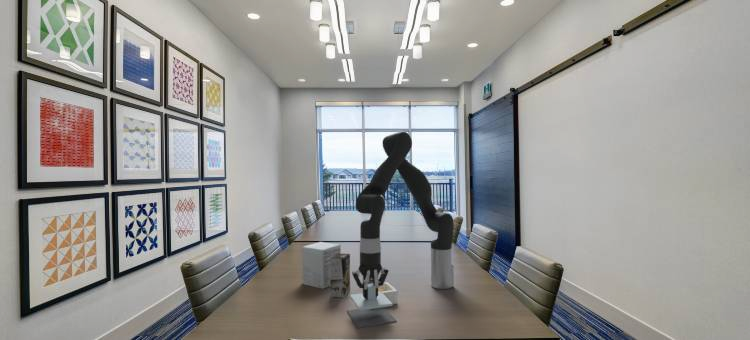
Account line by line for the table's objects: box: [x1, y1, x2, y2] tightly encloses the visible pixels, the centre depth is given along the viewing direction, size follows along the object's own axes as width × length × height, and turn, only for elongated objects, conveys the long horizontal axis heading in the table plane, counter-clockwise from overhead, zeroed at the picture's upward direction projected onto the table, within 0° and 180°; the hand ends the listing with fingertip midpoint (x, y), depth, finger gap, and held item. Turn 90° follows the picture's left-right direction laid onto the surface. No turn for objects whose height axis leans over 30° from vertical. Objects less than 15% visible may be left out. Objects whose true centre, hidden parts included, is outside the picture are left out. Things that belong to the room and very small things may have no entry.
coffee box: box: [329, 253, 351, 299], centre depth 141 cm, size 9×6×16 cm
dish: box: [361, 281, 398, 305], centre depth 133 cm, size 11×11×5 cm
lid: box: [349, 282, 393, 311], centre depth 118 cm, size 12×12×6 cm
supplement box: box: [301, 241, 342, 290], centre depth 155 cm, size 13×13×18 cm
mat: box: [346, 307, 397, 329], centre depth 118 cm, size 14×14×1 cm
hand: (370, 298), depth 118 cm, fingers closed on lid, 2 cm apart
